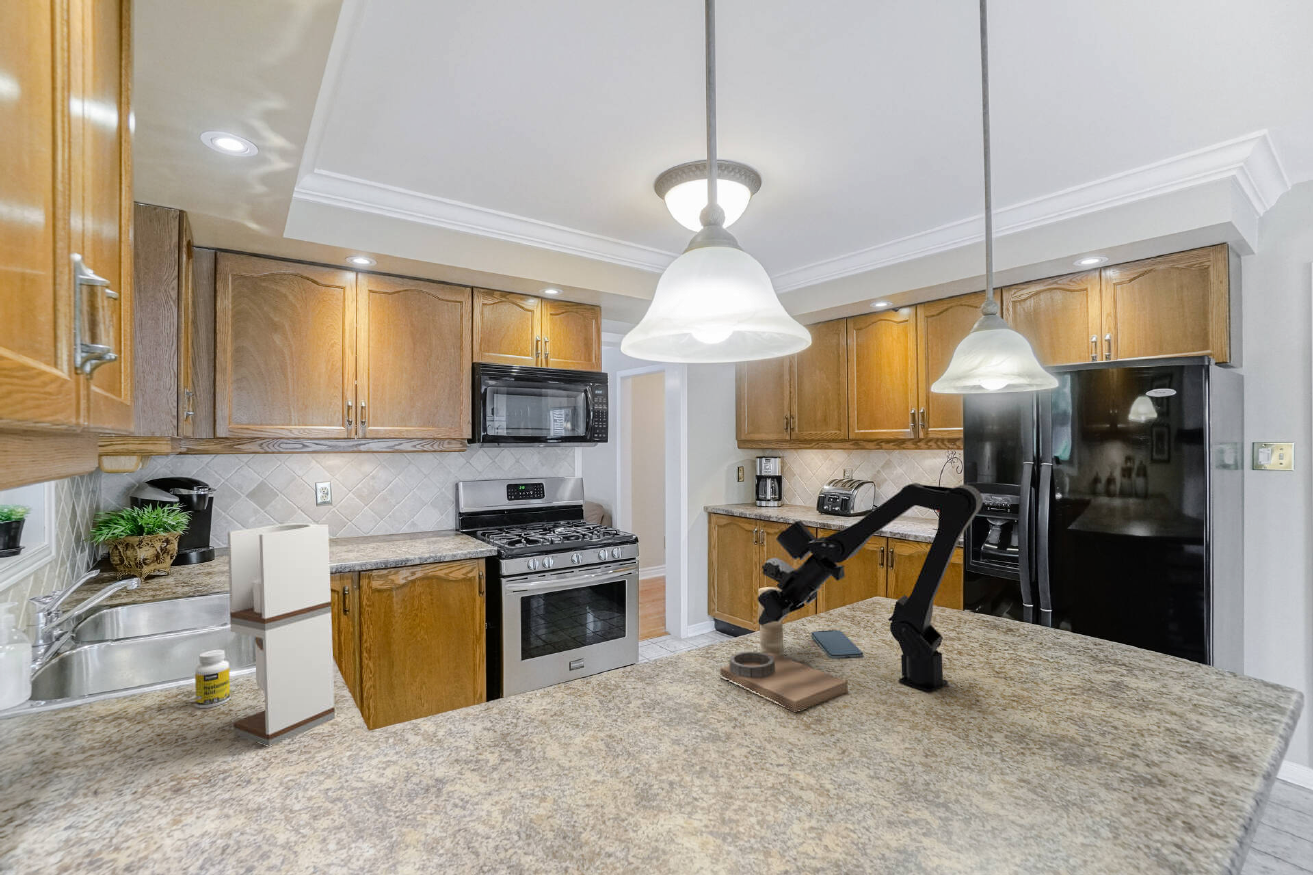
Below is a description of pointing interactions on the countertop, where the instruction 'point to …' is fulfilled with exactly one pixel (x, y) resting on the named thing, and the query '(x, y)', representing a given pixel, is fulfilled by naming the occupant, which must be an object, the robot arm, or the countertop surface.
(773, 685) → the stool seat
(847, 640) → the smartphone
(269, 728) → the display case
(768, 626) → the stool leg
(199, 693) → the supplement bottle
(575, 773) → the countertop surface
